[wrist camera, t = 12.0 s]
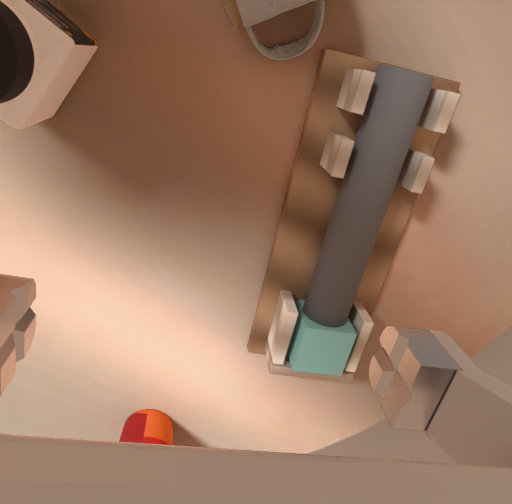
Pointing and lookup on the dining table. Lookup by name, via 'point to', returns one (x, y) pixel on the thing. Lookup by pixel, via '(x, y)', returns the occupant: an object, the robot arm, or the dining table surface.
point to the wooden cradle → (323, 200)
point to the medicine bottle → (38, 60)
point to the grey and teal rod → (357, 220)
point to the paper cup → (148, 428)
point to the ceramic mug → (268, 6)
